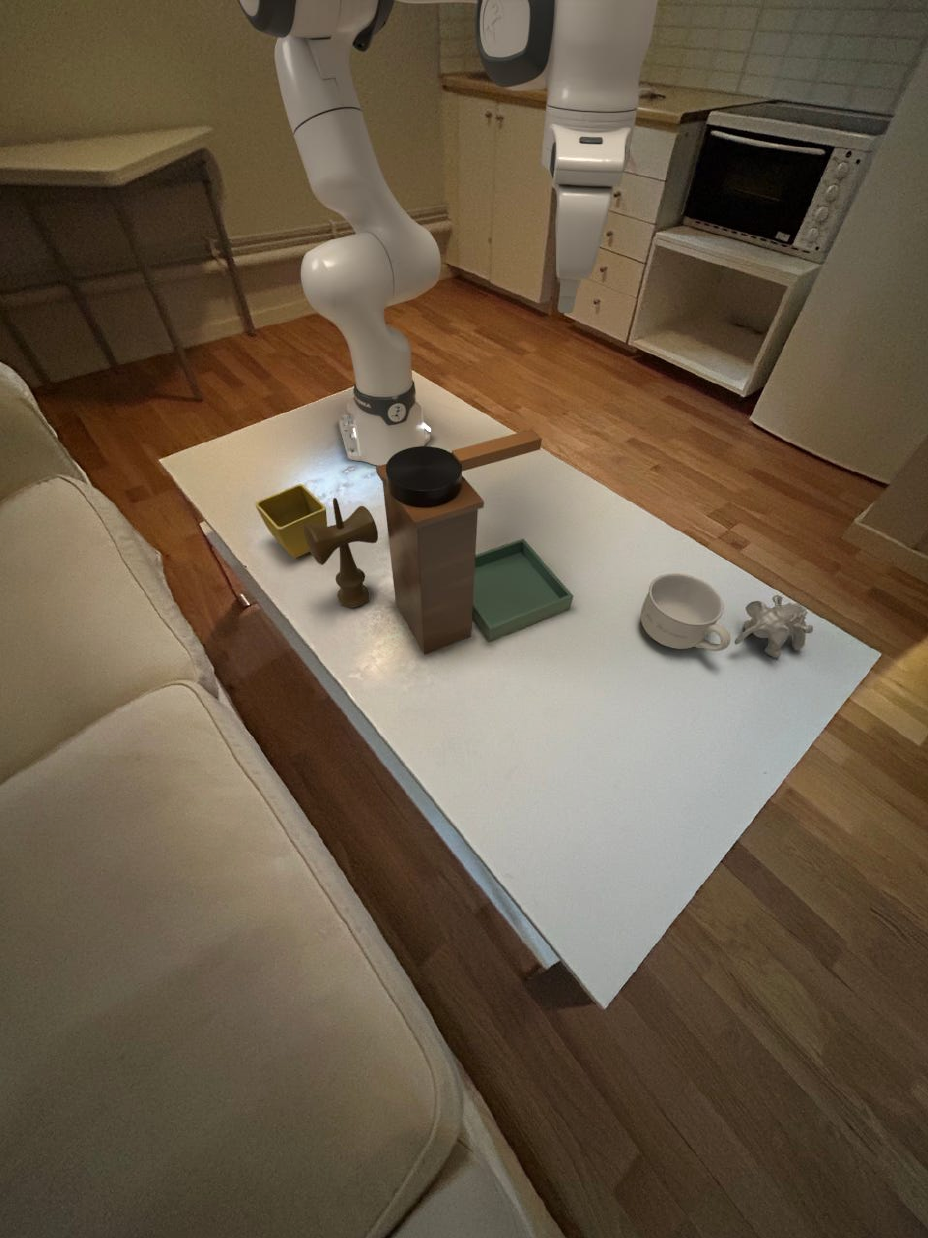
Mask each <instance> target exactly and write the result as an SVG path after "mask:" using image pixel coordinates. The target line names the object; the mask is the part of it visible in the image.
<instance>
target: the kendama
mask: <svg viewBox="0 0 928 1238" xmlns="http://www.w3.org/2000/svg"><path fill="white" fill-rule="evenodd" d="M332 506H333V507H332V508H333V513H334V519H335V524H333V525H328V526H327V527H324V526H318V525H314V524H309V523H305V524H304V528H303V530H304V535H305V538H306V541H307V544H308V546H309V549H310V553H311V554H312V556H313V558H314V560H315V561H316V562H317V564H319V565H320V566H323V565H325V564H326V563H327V561H328V560H329V559H330V557H331V556H332V555H333V553H334V552H336V550H337V549H339V571H338V573H337V574H336V575H335V582H336V584H337V586H339V589H338V591H337V596H336V597H337V600H338V602H339V603H340V604H341V605H342V606H344V607H346V608H356V607H359V606H362V605H364V604H365V603H367V602H368V601H369V599H370V595H371V592H370V590H369V588H368V587H367V586H366V585H365V584H364V582H365V581H366V575H365V572H364V571H363V570H362V569H361V568H359V567H358V566H357V565H356V562H355V559H354V556H353V553H352V550H351V547H350V545H349V544H351V543H357V542H360V543H369V544H376V543H377V542H378V540H379V531H378V527H377V524H376V521H375V519H374V517H373V515H372V513H371V512H370V510H369V509H368V508H367V507H366V506H364V505H360V506H358V507H357V508H356V509H355V510H354V511H353V512H352V513H351V515H349V517H348V518H346V519H345V520H343V517H342V512H341V508H340V505H339V501H338V499H337V497H334V498H333V499H332Z"/></svg>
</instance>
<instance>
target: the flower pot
mask: <svg viewBox="0 0 928 1238" xmlns="http://www.w3.org/2000/svg"><path fill="white" fill-rule="evenodd" d="M254 505H255V507H256V509H257V511H258V514H259V515H260V517H261V519H262V522H263V523H264V525H265V527H266V529H268V531H269V532H270V534H271V535H272V536H273V537H274V538H275V539H276V540H277V541H278V543H279V544H280V545H281V546H282V547H283V549H285V550H286V552H287V553H288V554H289V555H290V556H291V557H293V558H295V559H298V558H300V557H302V556H304V555H306V554H308V553H311V551H310V549H309V546H308V544H307V541H306V538H305V535H304V530H303V528H304V524H305V523H309V524H314V525H318V526H324V527H328V518H327V507H326V506H325V505H324V503H322V502H321V501H320V500H319V499H318V498H317V497H316V496H315V495H314V494H313V493H312V492H311V491H310V490H309V489H308V487H306V486H305V485H303V484H302V483H299V484H296V485H294V486H291V487H288V488H286V489H284V490H282V491H280V492H278V493H275V494H272V495H270V496H268V497H264V498H262V499H259V500H258V501H256V502H254Z"/></svg>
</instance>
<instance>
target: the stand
mask: <svg viewBox="0 0 928 1238" xmlns="http://www.w3.org/2000/svg"><path fill="white" fill-rule="evenodd" d="M375 472H376V475H377V476H378V477H379V479H380V480H381V482H382V490H383V498H384V499H383V501H384V508H385V517H386V525H387V537H388V546H389V553H390V555H389V556H390V564H391V573H392V582H393V591H394V600H395V607H396V608H397V610H398V612H399V613H400V616H401V618H402V619H403V620H404V622H405V624H406V626H407V627H408V629H409V631H410V632H411V634H412V636H413V637H414V639H415V641H416V643H417V645H418V646H419V648H420V650H421V651H422V653H423V655H427V654H430V653H432V652H435V651H437V650H441V649H442V648H444V647H448V646H451V645H452V644H455V643H457V642H460V641H463V640H465V639H468V638H470V637H472V625H473V618H472V610H473V592H474V574H475V555H476V553H477V535H478V517H479V510H481V509H484V507H485V500H484V499H483V498H482V497H481V496H480V494H479V493H478V492H477V490H475V488H474V487H473V486H472V485H471V484H470V482H469V481H468V480H467V479H466V478H465V477H464V475H462V487H461V490H460V492H459V494H458V495H457V496H456V497H455V498H454V499H453V500H451V501H449V502H447V503H445V504H442V505H439V506H435V507H414V506H409V505H406V504H403V503H401V502H399V501H397V500H396V499H395V498H393V497H392V495H391V494H390V493H389V491H388V488H387V478H386V464H384V465H381V466H378V465H376V466H375Z"/></svg>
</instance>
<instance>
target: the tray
mask: <svg viewBox="0 0 928 1238" xmlns="http://www.w3.org/2000/svg"><path fill="white" fill-rule="evenodd" d="M573 599H574V595H573V594H572V593H571V591H570V590H569V588H567V586H566V585H565V584H564V583H563V582H562V581H561V579H560V578H559V577H557V575H556V574H555V573H554V572H553V570H552V569H551V568H550V567H549V566H548V565H547V564H546V562H544V560H543V559H542V558H541V557H540V556H539V555H538V553H537V552H536V550H534V549H533V548H532V546H530V544H529V543H528V542H527V541H526V540H525V538H521V539H518V540H515V541H512V542H509V543H506V544H502V545H500V546H497V547H494V548H491V549H489V550H485V551H482V552H480V553H477V554H476V555H475V574H474V592H473V610H472V620H473V621H474V622H475V624H476V625H477V627H478V629H480V631H481V632H482V634H483V635H484V637H485V638H486V640H487V641H488V642H491V641H493V640H496V639H499V638H501V637H503V636H507V635H508V634H511V633H513V632H517V631H518V630H521V629H524V628H526V627H528V626H531V625H534V624H536V623H538V622H541V621H543V620H546V619H548V618H550V617H554V616H556V615H559V614H560V613H563V612H566V611H568V610H570V609H571V607H572V603H573Z"/></svg>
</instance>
